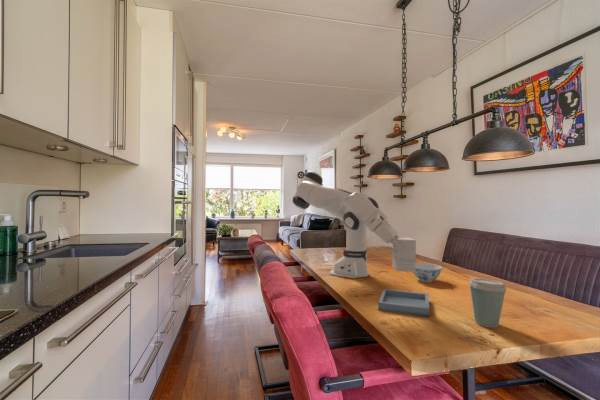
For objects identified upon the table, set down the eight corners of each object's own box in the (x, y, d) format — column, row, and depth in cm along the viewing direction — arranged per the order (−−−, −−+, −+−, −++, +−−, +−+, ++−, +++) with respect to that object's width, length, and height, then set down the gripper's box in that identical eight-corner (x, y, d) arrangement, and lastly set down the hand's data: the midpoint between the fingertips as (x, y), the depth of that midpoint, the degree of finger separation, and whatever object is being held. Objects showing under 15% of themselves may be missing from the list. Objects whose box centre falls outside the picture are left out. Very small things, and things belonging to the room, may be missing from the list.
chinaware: (404, 279, 152) (404, 264, 152) (424, 275, 158) (424, 262, 158) (427, 286, 138) (427, 270, 138) (448, 282, 144) (448, 267, 144)
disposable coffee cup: (471, 315, 102) (471, 274, 103) (508, 322, 96) (507, 279, 96) (466, 325, 94) (466, 280, 94) (506, 334, 87) (505, 286, 88)
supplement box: (410, 268, 116) (410, 237, 117) (415, 272, 109) (416, 239, 109) (392, 267, 117) (392, 237, 117) (396, 271, 110) (396, 239, 110)
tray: (378, 310, 108) (378, 302, 108) (383, 295, 125) (383, 289, 125) (429, 317, 101) (429, 308, 101) (428, 300, 118) (427, 293, 118)
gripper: (375, 225, 128) (397, 247, 124) (367, 229, 109) (394, 255, 105) (385, 215, 126) (408, 238, 122) (379, 217, 107) (406, 244, 103)
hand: (401, 246), depth 113 cm, fingers closed on supplement box, 8 cm apart
